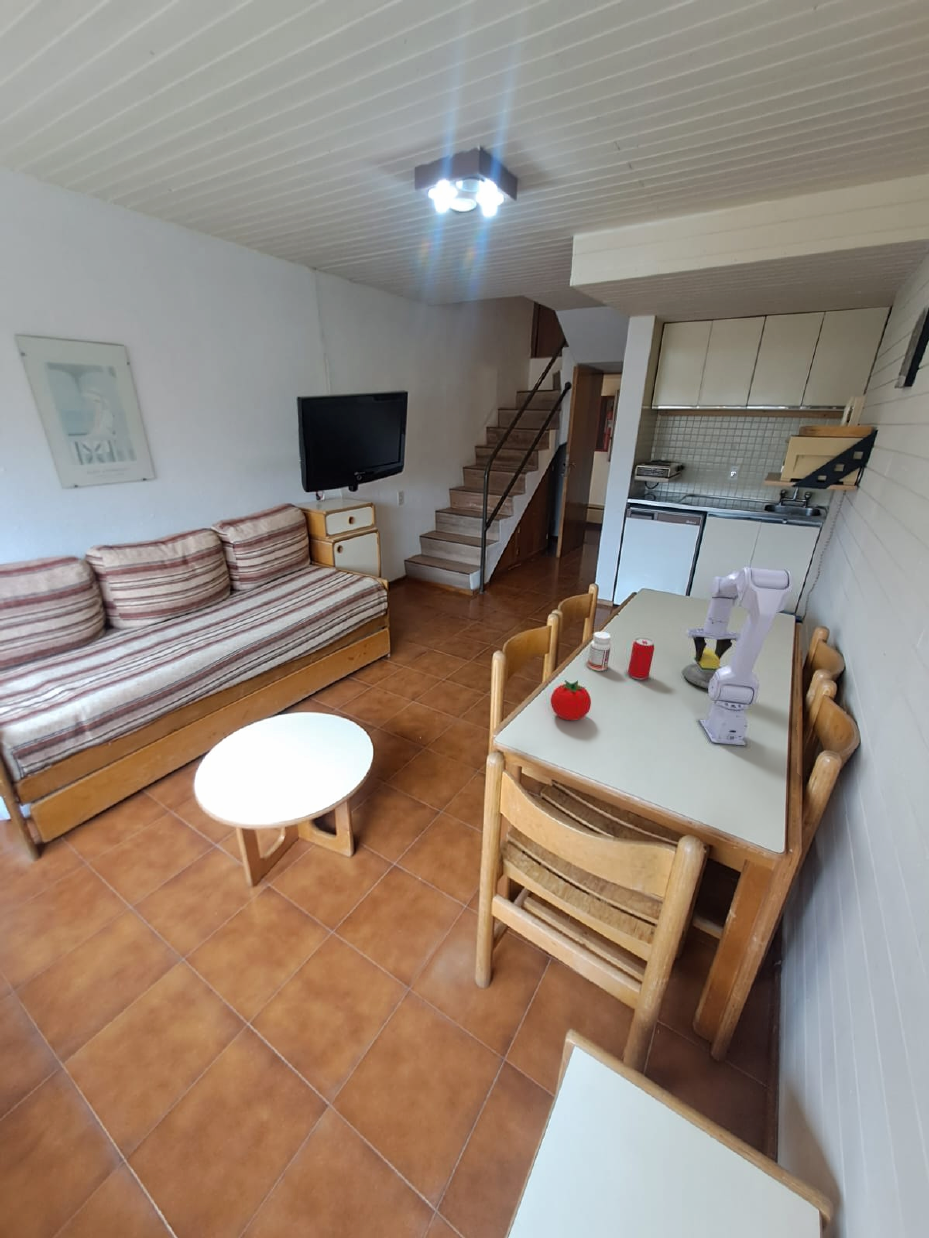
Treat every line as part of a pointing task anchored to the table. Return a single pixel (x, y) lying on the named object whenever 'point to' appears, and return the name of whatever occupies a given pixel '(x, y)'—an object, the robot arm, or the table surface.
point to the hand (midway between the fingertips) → (706, 660)
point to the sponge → (708, 660)
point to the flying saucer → (698, 675)
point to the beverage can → (641, 658)
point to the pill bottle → (599, 651)
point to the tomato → (571, 701)
